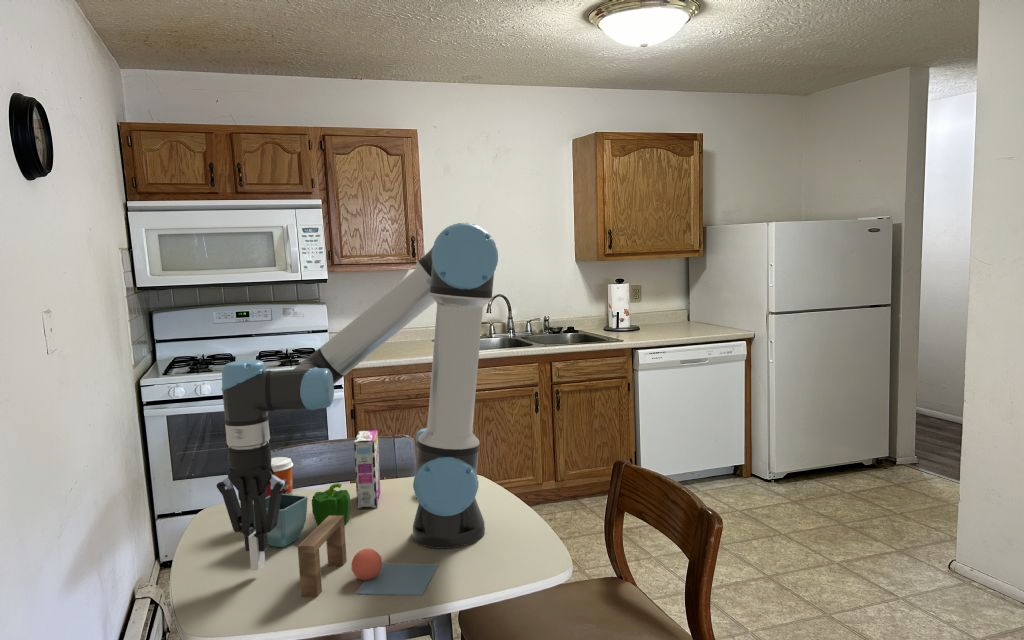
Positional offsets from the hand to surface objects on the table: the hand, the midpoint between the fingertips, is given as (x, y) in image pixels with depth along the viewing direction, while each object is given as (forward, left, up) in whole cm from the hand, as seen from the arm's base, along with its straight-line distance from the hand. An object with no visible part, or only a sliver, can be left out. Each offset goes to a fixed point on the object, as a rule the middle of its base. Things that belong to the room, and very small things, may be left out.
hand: (258, 567), depth 133 cm
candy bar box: (-8, -41, -2) cm, 42 cm away
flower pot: (+3, -16, -2) cm, 16 cm away
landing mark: (-27, 0, -2) cm, 27 cm away
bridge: (-13, 0, -2) cm, 13 cm away
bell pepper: (-5, -24, -2) cm, 25 cm away
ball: (-21, 0, +1) cm, 21 cm away
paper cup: (+9, -28, -2) cm, 29 cm away
